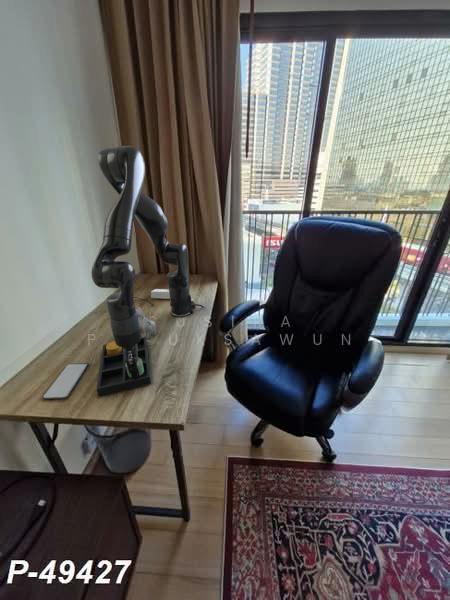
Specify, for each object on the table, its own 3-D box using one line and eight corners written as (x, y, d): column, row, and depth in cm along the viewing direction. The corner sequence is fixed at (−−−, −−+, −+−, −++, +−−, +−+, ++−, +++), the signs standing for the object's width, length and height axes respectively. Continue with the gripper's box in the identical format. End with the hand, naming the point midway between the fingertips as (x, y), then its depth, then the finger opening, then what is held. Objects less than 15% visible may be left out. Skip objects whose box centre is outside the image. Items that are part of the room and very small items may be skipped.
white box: (178, 296, 138) (178, 282, 137) (175, 298, 131) (174, 284, 130) (155, 295, 139) (155, 281, 138) (151, 298, 132) (150, 283, 131)
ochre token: (122, 348, 95) (120, 339, 93) (122, 356, 91) (120, 347, 89) (108, 351, 94) (106, 342, 92) (107, 359, 90) (105, 350, 88)
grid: (146, 342, 99) (145, 336, 98) (151, 383, 80) (149, 376, 79) (104, 351, 95) (103, 344, 94) (98, 396, 76) (96, 389, 74)
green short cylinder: (143, 365, 84) (141, 356, 82) (144, 375, 80) (142, 366, 78) (127, 368, 83) (125, 359, 81) (127, 379, 78) (125, 369, 76)
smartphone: (88, 363, 88) (65, 397, 75) (88, 364, 88) (66, 398, 75) (68, 363, 88) (41, 398, 75) (68, 364, 88) (42, 399, 75)
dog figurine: (140, 324, 111) (136, 303, 106) (158, 334, 104) (155, 312, 99) (129, 330, 107) (125, 308, 103) (148, 340, 100) (144, 318, 96)
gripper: (140, 338, 68) (149, 384, 76) (138, 313, 80) (146, 355, 88) (110, 344, 66) (123, 390, 74) (113, 317, 78) (123, 360, 86)
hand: (135, 371), depth 81 cm, fingers closed on green short cylinder, 5 cm apart
